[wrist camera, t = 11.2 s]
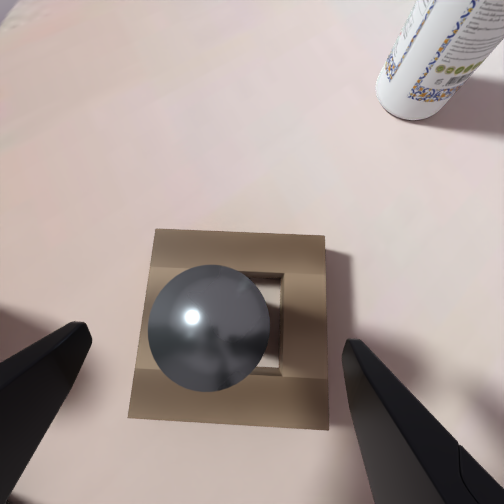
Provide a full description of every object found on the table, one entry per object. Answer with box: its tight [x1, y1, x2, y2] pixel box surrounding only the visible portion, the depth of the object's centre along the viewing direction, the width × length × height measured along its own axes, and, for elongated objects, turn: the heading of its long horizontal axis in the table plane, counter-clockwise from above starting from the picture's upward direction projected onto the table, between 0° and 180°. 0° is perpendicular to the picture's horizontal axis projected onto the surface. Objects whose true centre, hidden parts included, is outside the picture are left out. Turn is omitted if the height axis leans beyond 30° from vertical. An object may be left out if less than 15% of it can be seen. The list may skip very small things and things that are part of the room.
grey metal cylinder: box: [148, 265, 270, 392], centre depth 15 cm, size 4×4×13 cm
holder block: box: [128, 229, 329, 430], centre depth 20 cm, size 13×13×3 cm
